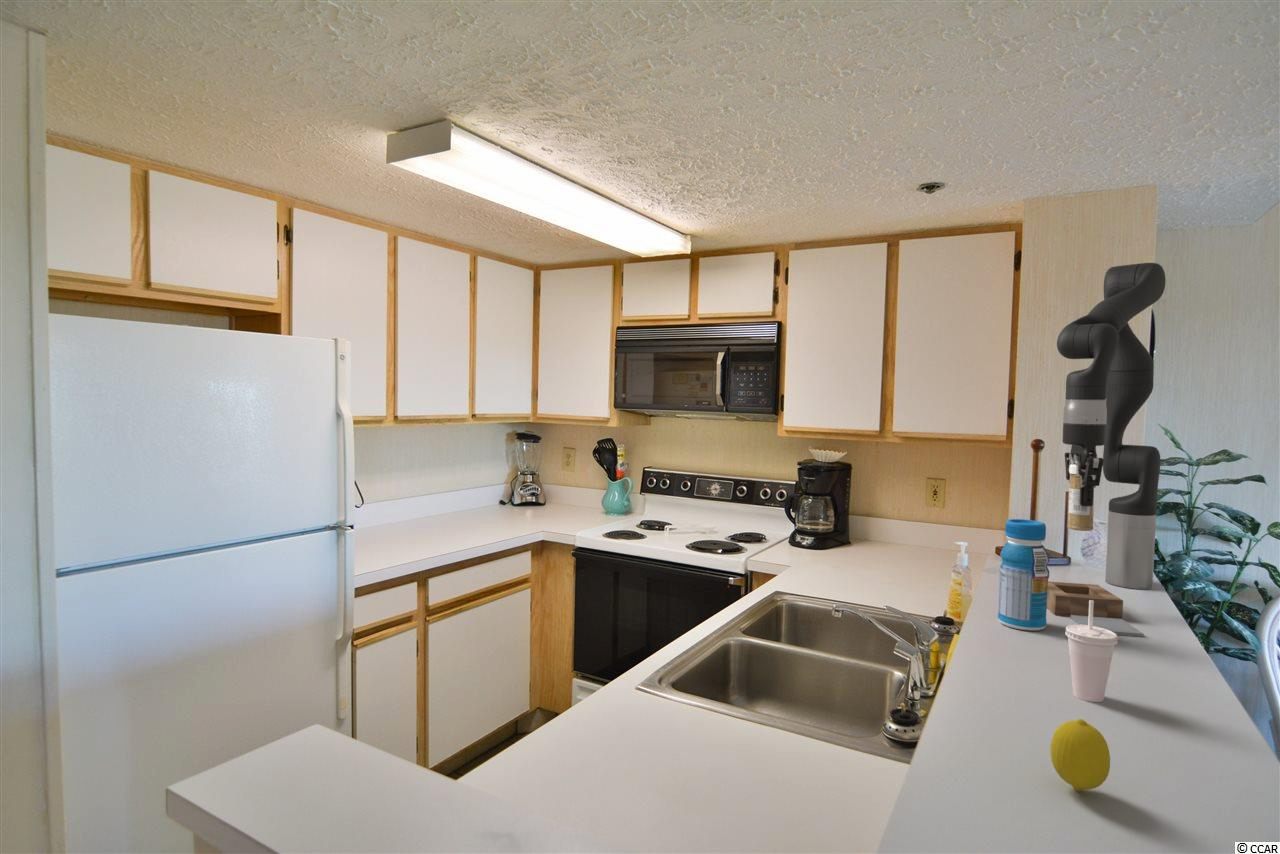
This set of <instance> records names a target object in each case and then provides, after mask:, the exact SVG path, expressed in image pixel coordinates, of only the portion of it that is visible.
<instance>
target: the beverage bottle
mask: <svg viewBox="0 0 1280 854" xmlns="http://www.w3.org/2000/svg"><path fill="white" fill-rule="evenodd" d="M1046 535H1047V526H1046V523H1044V522H1042V521H1038V520H1032V519H1023V518H1022V519H1020V518H1015V519H1013V518H1012V519H1011V518H1010V519H1007V520H1006V521H1005V537H1006V538H1007V539H1008V540H1007V542H1005V543H1004V546H1003V547H1002V548H1001V552H1000V555H999V556H1000V558H1001V562H1000V564H999V567H998V572H999V584H998V585H999V588H998V593H999V594H998V612H997V613H998V614H997V619H998V621H999V623H1000V624H1002V625H1004V626H1006V627H1007V628H1012V629H1016V630H1021V631H1028V632H1029V631H1031V632H1034V631H1035V632H1036V631H1042V630H1045V628H1046V627H1047V610H1048V609H1047V590H1048V581H1049V578H1050V570H1049V568H1048V564H1049V563H1050V557H1049V554H1048V552H1047V549H1046V548H1045V546H1044V545H1043V542H1045V540H1046V538H1047V537H1046Z"/></svg>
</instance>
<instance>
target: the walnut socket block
mask: <svg viewBox="0 0 1280 854" xmlns="http://www.w3.org/2000/svg"><path fill="white" fill-rule="evenodd" d="M1089 600H1092V601H1094V606H1093V617H1104V618H1117V619H1123V611H1124V600H1123V599H1121V598H1120V597H1118V596H1117V595H1115V594H1113V593H1112V592H1110V591H1109V590H1107V589H1105V588H1104V587H1102V586H1101V585H1099V584H1092V583H1090V584H1089V583H1075V582H1063V581H1062V582H1061V581H1049V580H1048V590H1047V609H1046V610H1048V611H1049V610H1050V613H1052V614H1053V615H1054V616H1059V615H1060V617H1071V615H1079V616H1089Z"/></svg>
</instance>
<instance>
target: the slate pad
mask: <svg viewBox="0 0 1280 854" xmlns="http://www.w3.org/2000/svg"><path fill="white" fill-rule="evenodd" d="M1070 619H1072V621H1074V622H1075V624H1080V625H1088V616H1079V615H1071V616H1070ZM1093 626H1096V627H1100V628H1104V629H1107V630H1110V631H1112V632H1114V633H1115V634H1116V635H1117V636H1125V637H1127V636H1128V637H1135V638H1136V637H1139V638H1144V637H1145V636H1144V635H1145V634H1144V633H1143V632H1142V631H1140V630H1138V628H1136V627H1134V626H1133V625H1131V624H1130V623H1128V622H1127V621H1126V620H1124V619H1123V618H1122V619H1117V618H1104V617H1093Z"/></svg>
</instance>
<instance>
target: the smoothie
mask: <svg viewBox="0 0 1280 854" xmlns="http://www.w3.org/2000/svg"><path fill="white" fill-rule="evenodd" d="M1093 606H1094V601H1092V600H1089V616H1088V625H1080V624H1078V623H1075V624H1069V625H1067V626H1065V632H1064V633H1065V636H1067V639H1068V640H1067V641H1068V643H1067V644H1068V650H1069V652H1068V653H1069V660H1070V661H1069V662H1070V671H1071V682H1072V694H1073V696H1074V697H1077V698H1078V699H1080V700H1084V701H1087V702H1091V703H1092V702H1093V703H1101V702H1103V701H1104V700H1105V694H1106V689H1107V683H1108V679H1109V675H1110V674H1109V673H1110V671H1111V663H1112V659H1113V654H1114V649H1115V645H1117V644H1118V643H1119V642H1118V635H1116V634H1115V633H1114V632H1112V631H1110V630H1107V629H1104V628H1100V627H1096V626H1093Z"/></svg>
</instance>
